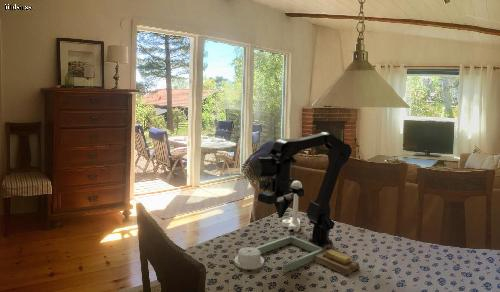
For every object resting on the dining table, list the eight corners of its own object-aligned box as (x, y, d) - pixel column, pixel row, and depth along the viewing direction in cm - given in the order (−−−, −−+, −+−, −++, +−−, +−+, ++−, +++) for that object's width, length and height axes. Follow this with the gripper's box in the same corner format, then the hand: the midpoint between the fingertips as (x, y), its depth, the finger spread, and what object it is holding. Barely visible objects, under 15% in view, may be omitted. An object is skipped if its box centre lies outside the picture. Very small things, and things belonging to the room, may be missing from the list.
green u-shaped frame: (290, 241, 152) (290, 235, 152) (324, 255, 141) (324, 249, 140) (251, 255, 139) (251, 249, 138) (284, 272, 127) (285, 265, 127)
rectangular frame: (327, 255, 141) (328, 250, 141) (358, 268, 132) (359, 262, 132) (315, 261, 136) (315, 255, 136) (346, 274, 127) (346, 269, 127)
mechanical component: (228, 264, 132) (253, 273, 126) (228, 252, 131) (253, 260, 126) (245, 254, 140) (269, 262, 135) (245, 242, 139) (270, 250, 134)
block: (324, 262, 136) (325, 251, 135) (330, 260, 138) (330, 249, 137) (344, 271, 130) (345, 259, 129) (349, 268, 132) (350, 257, 131)
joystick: (299, 231, 163) (302, 184, 160) (281, 230, 164) (283, 183, 161) (300, 222, 174) (302, 178, 170) (282, 221, 175) (284, 176, 171)
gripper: (283, 168, 153) (281, 207, 155) (247, 174, 140) (246, 216, 143) (306, 173, 145) (303, 214, 147) (270, 180, 132) (268, 225, 135)
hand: (280, 217), depth 143 cm, fingers closed
